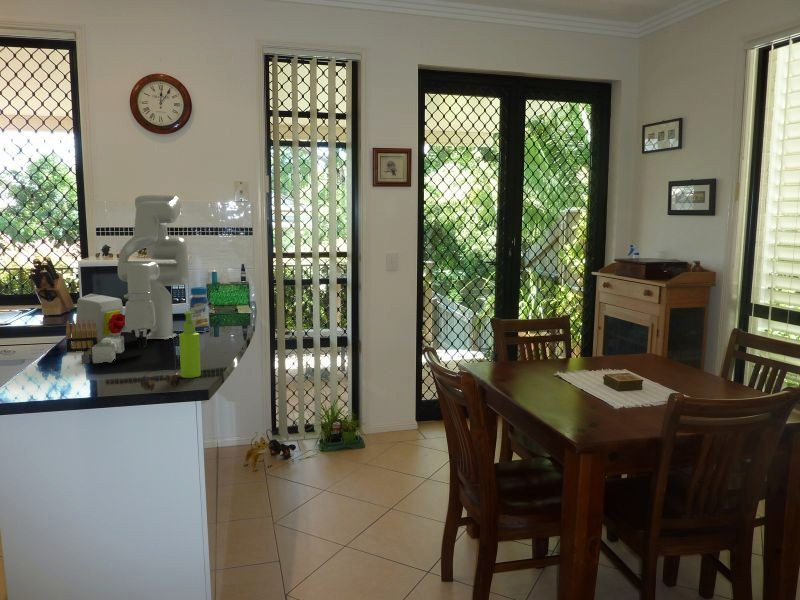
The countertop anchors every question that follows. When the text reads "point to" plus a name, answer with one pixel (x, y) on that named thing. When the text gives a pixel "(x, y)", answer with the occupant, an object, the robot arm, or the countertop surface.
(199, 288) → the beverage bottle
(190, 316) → the soap dispenser
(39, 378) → the countertop surface
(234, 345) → the countertop surface
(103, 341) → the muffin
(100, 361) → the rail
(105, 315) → the electrical switch box
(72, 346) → the ammunition clip
